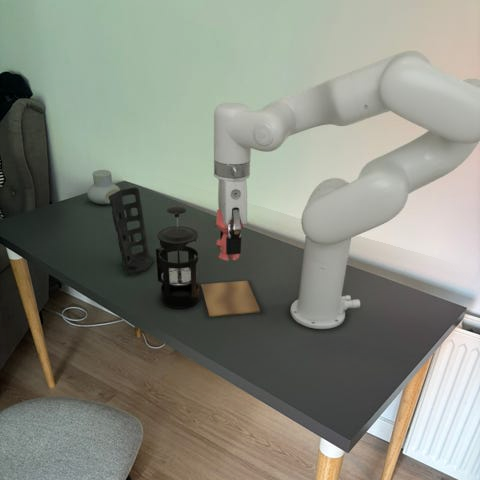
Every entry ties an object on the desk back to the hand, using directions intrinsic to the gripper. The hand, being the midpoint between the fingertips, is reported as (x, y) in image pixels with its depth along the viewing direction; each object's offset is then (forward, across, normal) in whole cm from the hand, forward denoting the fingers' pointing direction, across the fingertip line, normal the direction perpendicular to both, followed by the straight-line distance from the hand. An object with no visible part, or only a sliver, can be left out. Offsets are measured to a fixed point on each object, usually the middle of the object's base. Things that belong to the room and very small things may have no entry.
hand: (230, 245), depth 116 cm
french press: (+14, +2, +12) cm, 19 cm away
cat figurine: (+3, 0, 0) cm, 3 cm away
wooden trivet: (+14, 0, 0) cm, 14 cm away
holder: (+14, +20, +22) cm, 33 cm away
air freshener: (+14, +67, +30) cm, 75 cm away
